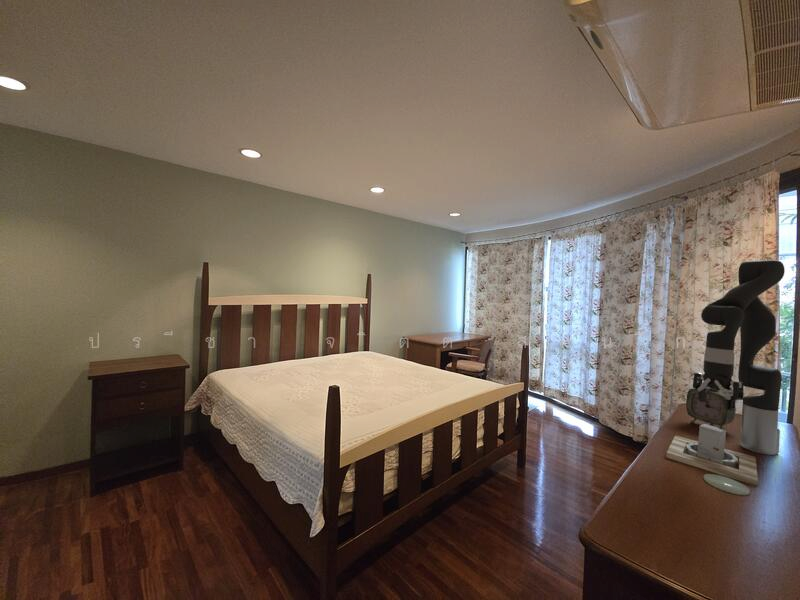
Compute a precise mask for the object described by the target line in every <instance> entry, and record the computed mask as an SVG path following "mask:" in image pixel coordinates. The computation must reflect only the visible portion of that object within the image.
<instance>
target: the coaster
mask: <svg viewBox="0 0 800 600" xmlns="http://www.w3.org/2000/svg"><path fill="white" fill-rule="evenodd" d="M703 479H704V481H705V482H706V483H707V484H708V485H710V486H711V487H714V488H716V489H719V490H721V491H723V492H727V493H728V494H729V493H730V494H733V495H738V496H747V495H749V494H750V492H751V491H750V488H749V487H748V486H747V485H744V484H743V483H741V482H739V481H738V480H736V479H733V478H730V477H727V476H724V475H720V474H716V473H705V474H703Z"/></svg>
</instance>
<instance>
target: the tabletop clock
mask: <svg viewBox="0 0 800 600" xmlns="http://www.w3.org/2000/svg"><path fill="white" fill-rule="evenodd" d="M702 381H703V382H705V380H704V379H703V380H702ZM706 392H707V397H706V402H700V401H699V399H698V393H699V391H698V390H697V389H695V388H689V390H688V391H687V395H686V400H685V401H686V402H685V407H686V408H685V409H686V413H687V415H688V416H689V417H691V418H693V420H690V421H689V424H691V423H693V424H692V425H695V422H696V421H697V420H699V421H701V422H704V423H706V424H709V425H710V426H714V427H715V425H716V426H719V428H720V429H723V426H726V425H729V424H732V423H733V422H734V420H735V418H736V417H735V415H736V410H737V409H736V408H737V407H736V406H735V409H733V411H729V410H726V399H727V398H726V396H725V394H724V393H722V392H721V390H717V389H715V388H710V389H708V390H707V391H706ZM723 430H724V429H723Z"/></svg>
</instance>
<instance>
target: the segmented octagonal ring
mask: <svg viewBox="0 0 800 600" xmlns="http://www.w3.org/2000/svg"><path fill="white" fill-rule="evenodd" d="M697 450H698V444H695V443H690V444H687V445H686V450H685V454H688V455H691V456H694V457H698V458H701V459H704V460H708V461H711V462H714V463H718V464H721V465H724V466H728V467H731V468H734V469H739V462H738V459H737V458H736V457H735V456H734V455H733V454H731V453H729V452H727V451H724V460H721V459H716V458H712V457H708V456H706V455H703V454H700V453H698V452H697Z"/></svg>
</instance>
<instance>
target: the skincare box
mask: <svg viewBox="0 0 800 600" xmlns="http://www.w3.org/2000/svg"><path fill="white" fill-rule="evenodd" d="M698 428H699V430H698V439H697V440H698V441H697V442H698V450H697V452H698V453H700V454H703V455H706V456H708V457H712V458H716V459H721V460H724V449H726V448H725V447H726V438H727V437H726V436H727V430H725V429H721V428H720V427H718V426H715V425H714V426H710V424H708V423H703V424H701V425H699V427H698Z"/></svg>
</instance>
